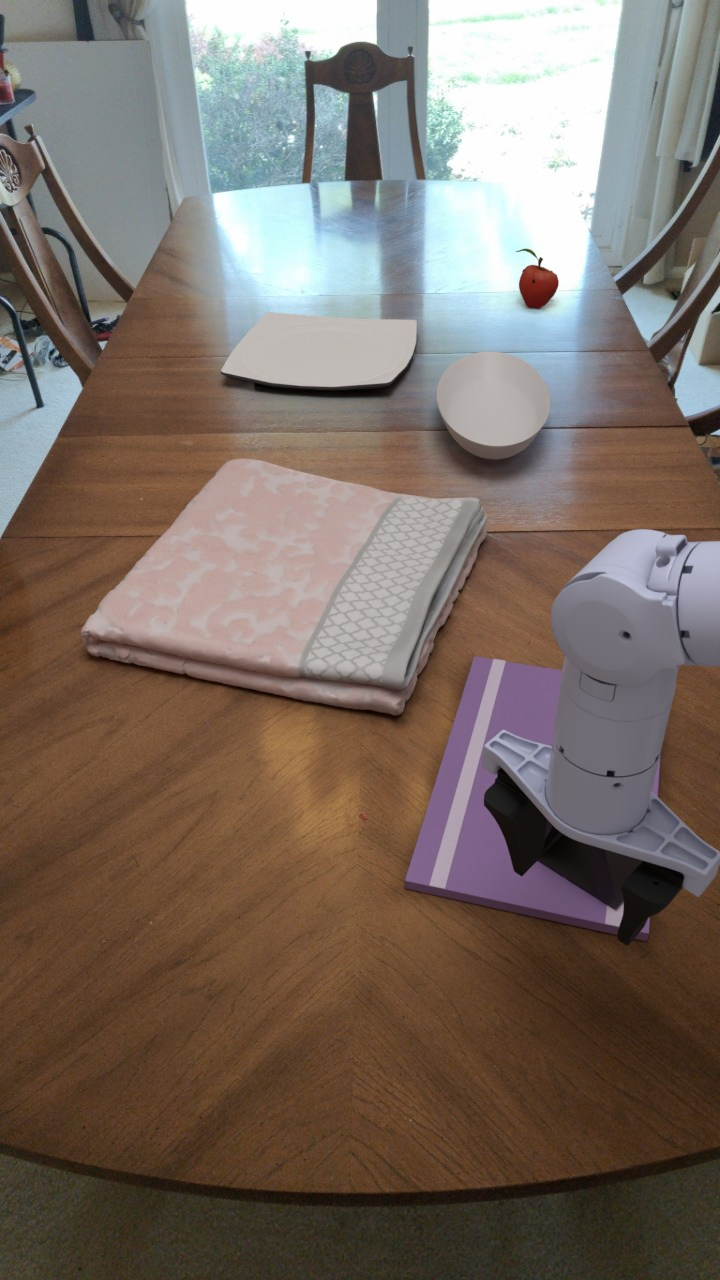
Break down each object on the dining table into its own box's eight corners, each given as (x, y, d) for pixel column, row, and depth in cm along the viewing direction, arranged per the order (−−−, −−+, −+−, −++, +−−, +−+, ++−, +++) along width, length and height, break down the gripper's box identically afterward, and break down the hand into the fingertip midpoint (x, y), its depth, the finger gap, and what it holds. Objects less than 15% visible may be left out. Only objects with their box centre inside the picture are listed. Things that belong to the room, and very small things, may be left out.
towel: (406, 730, 89) (406, 681, 85) (77, 659, 98) (65, 613, 94) (491, 531, 115) (494, 488, 112) (227, 489, 124) (222, 448, 121)
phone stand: (658, 863, 75) (686, 750, 68) (616, 911, 72) (640, 797, 64) (559, 804, 80) (575, 693, 73) (515, 847, 77) (527, 734, 69)
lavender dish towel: (646, 942, 71) (649, 933, 70) (404, 888, 75) (404, 880, 74) (663, 694, 92) (665, 686, 91) (473, 663, 96) (474, 655, 95)
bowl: (436, 390, 147) (438, 350, 143) (537, 391, 146) (541, 351, 142) (433, 488, 124) (435, 444, 120) (554, 491, 122) (559, 447, 119)
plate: (262, 324, 170) (261, 309, 168) (425, 333, 165) (426, 317, 164) (210, 392, 148) (208, 375, 146) (397, 404, 143) (397, 387, 142)
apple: (549, 298, 178) (555, 241, 171) (560, 312, 172) (566, 253, 166) (508, 301, 177) (512, 244, 171) (517, 314, 172) (522, 255, 165)
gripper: (768, 764, 51) (715, 923, 60) (538, 649, 59) (519, 804, 68) (703, 842, 47) (656, 1000, 56) (465, 707, 55) (455, 864, 64)
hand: (577, 897), depth 61 cm, fingers open, 7 cm apart
